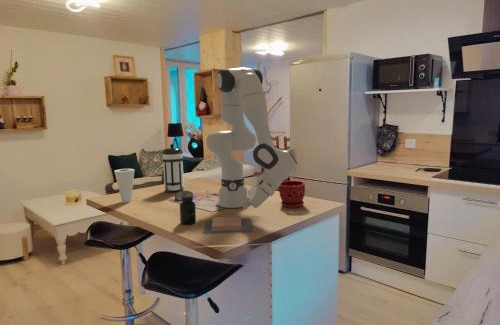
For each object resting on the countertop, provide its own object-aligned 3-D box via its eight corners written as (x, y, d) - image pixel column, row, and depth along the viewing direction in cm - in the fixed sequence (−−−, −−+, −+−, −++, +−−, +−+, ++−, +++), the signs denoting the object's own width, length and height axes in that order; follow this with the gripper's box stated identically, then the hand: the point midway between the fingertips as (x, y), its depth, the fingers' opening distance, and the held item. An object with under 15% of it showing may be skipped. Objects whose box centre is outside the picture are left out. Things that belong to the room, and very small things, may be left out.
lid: (194, 196, 200) (193, 188, 199) (192, 201, 190) (191, 192, 189) (176, 197, 199) (175, 189, 198) (173, 201, 189) (172, 193, 188)
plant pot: (281, 202, 183) (281, 180, 181) (306, 203, 179) (306, 180, 178) (276, 208, 170) (276, 184, 169) (303, 209, 167) (303, 185, 165)
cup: (113, 204, 187) (110, 171, 184) (122, 199, 197) (120, 168, 195) (131, 204, 186) (129, 171, 183) (139, 199, 196) (137, 168, 194)
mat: (206, 221, 152) (206, 220, 152) (251, 219, 153) (251, 218, 153) (203, 235, 134) (203, 233, 134) (253, 233, 135) (253, 231, 135)
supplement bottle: (193, 225, 147) (191, 198, 145) (178, 224, 148) (176, 198, 146) (198, 220, 154) (197, 194, 152) (183, 220, 155) (182, 194, 153)
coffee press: (156, 192, 215) (153, 144, 211) (176, 187, 227) (174, 142, 223) (173, 195, 204) (170, 145, 200) (193, 190, 216) (191, 143, 212)
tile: (240, 220, 150) (213, 221, 149) (240, 216, 149) (213, 217, 149) (241, 229, 138) (211, 230, 137) (241, 225, 138) (211, 226, 137)
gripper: (259, 174, 152) (238, 196, 153) (263, 183, 131) (238, 209, 133) (269, 184, 153) (248, 206, 154) (274, 194, 132) (250, 219, 133)
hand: (243, 207), depth 143 cm, fingers closed
